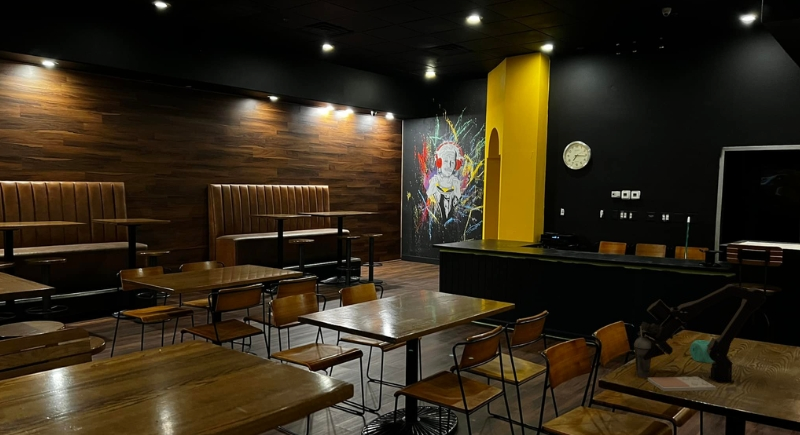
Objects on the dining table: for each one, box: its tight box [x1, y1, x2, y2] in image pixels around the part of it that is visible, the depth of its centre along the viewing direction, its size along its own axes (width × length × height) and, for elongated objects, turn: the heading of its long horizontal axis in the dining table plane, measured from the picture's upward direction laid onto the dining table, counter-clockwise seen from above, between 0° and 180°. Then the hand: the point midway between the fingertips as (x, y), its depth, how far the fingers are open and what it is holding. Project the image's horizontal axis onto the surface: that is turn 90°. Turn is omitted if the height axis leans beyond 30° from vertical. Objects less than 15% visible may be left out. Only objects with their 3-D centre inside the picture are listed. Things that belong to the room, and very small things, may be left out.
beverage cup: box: [633, 325, 652, 379], centre depth 231 cm, size 7×7×20 cm
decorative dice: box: [689, 339, 715, 364], centre depth 253 cm, size 8×8×8 cm
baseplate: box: [647, 376, 717, 392], centre depth 220 cm, size 20×12×2 cm, turn 93°
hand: (639, 356), depth 231 cm, fingers closed on beverage cup, 7 cm apart
